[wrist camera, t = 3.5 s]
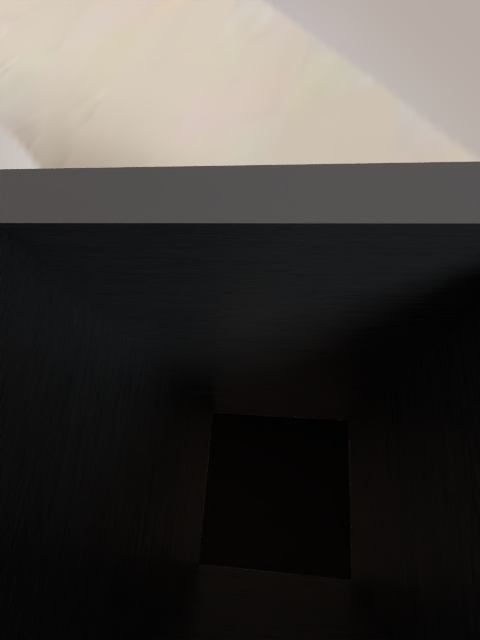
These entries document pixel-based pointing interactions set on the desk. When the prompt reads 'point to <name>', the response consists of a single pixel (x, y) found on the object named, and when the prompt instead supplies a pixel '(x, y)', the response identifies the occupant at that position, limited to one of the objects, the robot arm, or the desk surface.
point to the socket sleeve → (236, 392)
